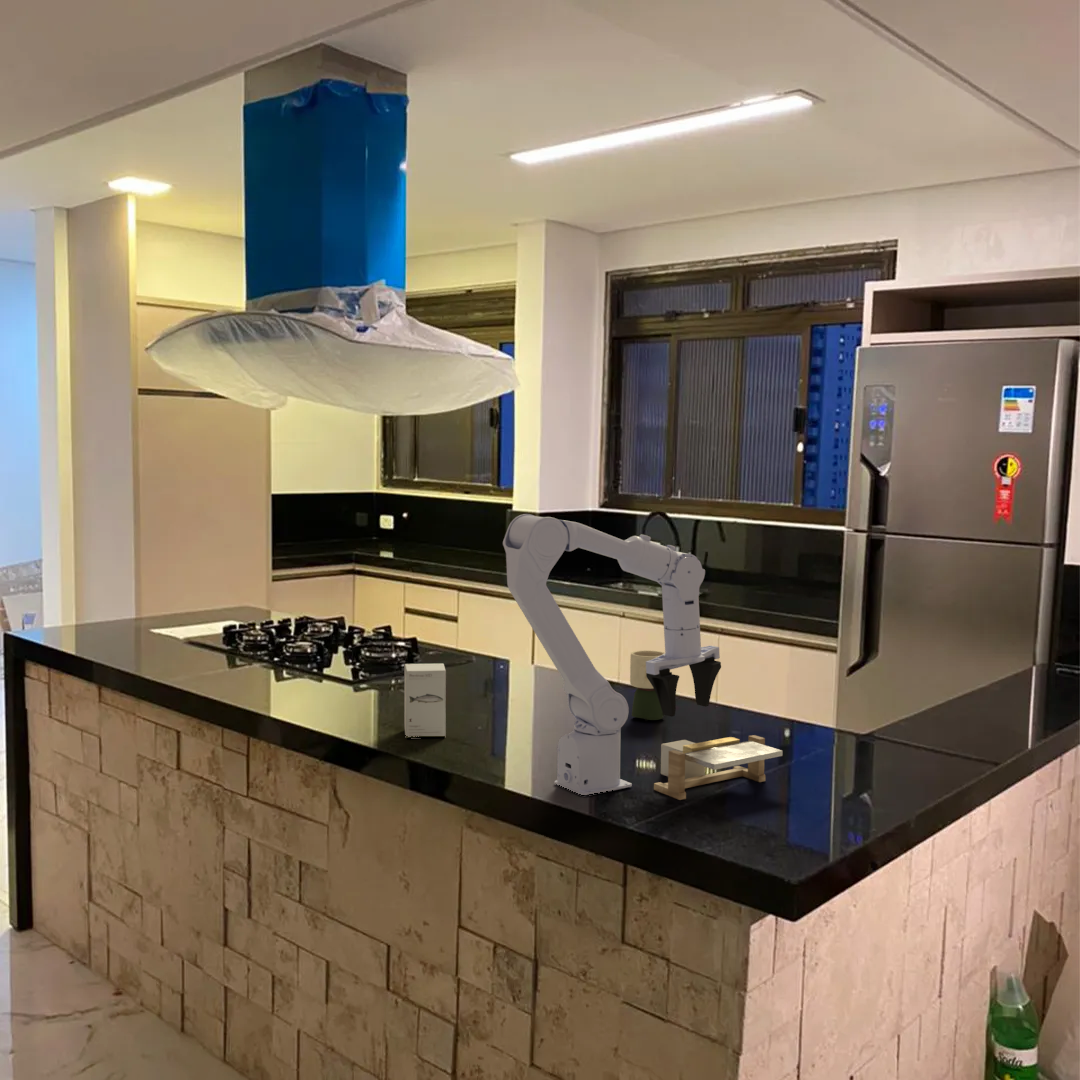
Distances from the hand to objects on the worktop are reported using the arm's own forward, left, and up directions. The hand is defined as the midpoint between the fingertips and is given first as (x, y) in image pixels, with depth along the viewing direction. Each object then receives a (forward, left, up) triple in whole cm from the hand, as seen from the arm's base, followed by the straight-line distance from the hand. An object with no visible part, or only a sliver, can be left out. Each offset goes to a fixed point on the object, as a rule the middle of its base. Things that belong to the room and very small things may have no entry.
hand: (686, 710), depth 175 cm
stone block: (-1, 0, -11) cm, 11 cm away
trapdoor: (-1, -10, -5) cm, 12 cm away
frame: (-1, -7, -10) cm, 12 cm away
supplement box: (-24, +45, -11) cm, 52 cm away
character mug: (+18, +32, -11) cm, 38 cm away
